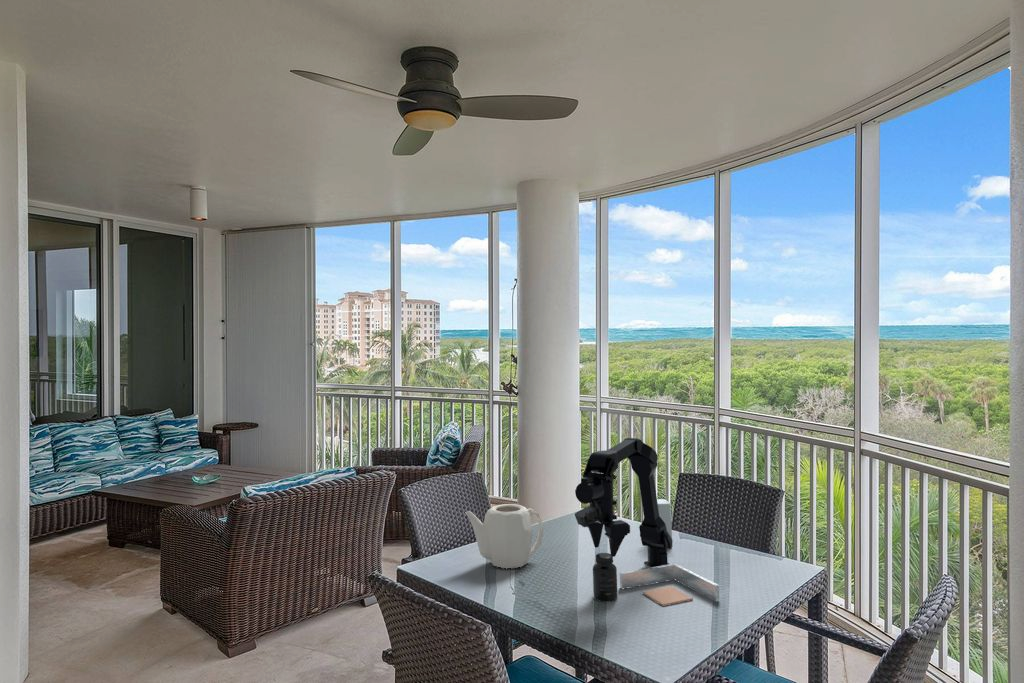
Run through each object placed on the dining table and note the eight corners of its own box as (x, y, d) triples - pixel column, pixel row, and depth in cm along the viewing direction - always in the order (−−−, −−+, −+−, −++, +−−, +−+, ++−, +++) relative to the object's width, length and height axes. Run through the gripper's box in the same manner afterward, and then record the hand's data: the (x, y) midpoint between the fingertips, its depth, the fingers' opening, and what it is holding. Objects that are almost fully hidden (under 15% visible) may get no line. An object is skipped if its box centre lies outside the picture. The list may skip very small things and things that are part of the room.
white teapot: (461, 561, 207) (460, 505, 207) (536, 553, 213) (535, 499, 214) (470, 577, 192) (469, 517, 192) (550, 567, 198) (549, 509, 199)
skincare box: (672, 547, 216) (671, 503, 217) (654, 548, 216) (652, 504, 217) (666, 540, 225) (665, 498, 225) (649, 541, 225) (647, 498, 225)
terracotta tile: (642, 593, 175) (642, 591, 175) (670, 588, 179) (670, 586, 179) (662, 606, 166) (662, 604, 166) (692, 600, 170) (692, 598, 170)
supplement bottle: (591, 593, 176) (590, 551, 177) (614, 592, 177) (613, 550, 177) (596, 603, 169) (595, 559, 170) (620, 601, 170) (619, 558, 170)
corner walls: (619, 588, 180) (619, 572, 180) (675, 577, 187) (674, 563, 187) (659, 613, 161) (659, 596, 162) (719, 601, 169) (718, 584, 169)
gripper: (563, 493, 179) (564, 546, 179) (595, 507, 162) (596, 566, 162) (596, 489, 184) (597, 541, 183) (630, 502, 166) (632, 560, 166)
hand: (604, 551), depth 173 cm, fingers open, 9 cm apart
